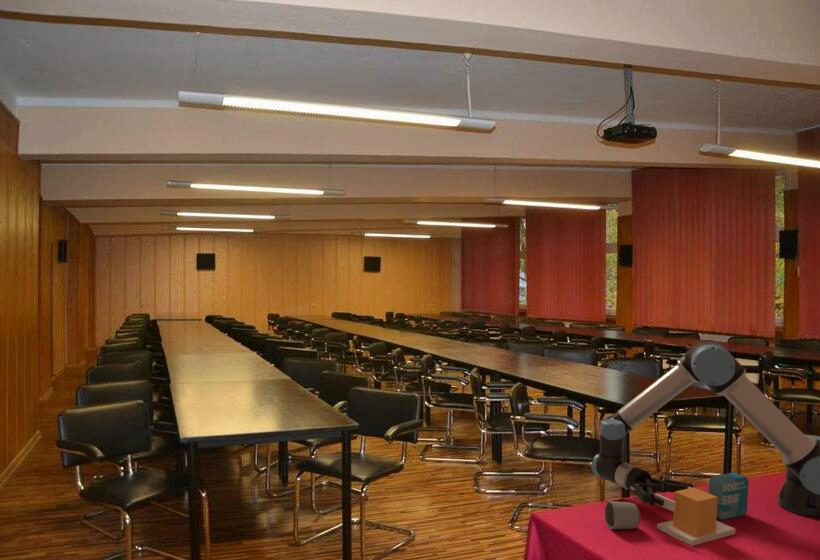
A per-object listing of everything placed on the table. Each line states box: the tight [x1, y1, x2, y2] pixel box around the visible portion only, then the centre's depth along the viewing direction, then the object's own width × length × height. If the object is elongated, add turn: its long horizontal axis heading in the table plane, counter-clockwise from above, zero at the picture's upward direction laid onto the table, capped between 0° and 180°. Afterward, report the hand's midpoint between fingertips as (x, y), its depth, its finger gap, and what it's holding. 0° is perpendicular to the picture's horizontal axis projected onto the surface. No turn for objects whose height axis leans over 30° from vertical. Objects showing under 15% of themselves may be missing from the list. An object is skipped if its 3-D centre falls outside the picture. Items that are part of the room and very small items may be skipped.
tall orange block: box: [672, 486, 718, 537], centre depth 193 cm, size 8×8×10 cm
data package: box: [708, 472, 750, 521], centre depth 208 cm, size 12×4×12 cm, turn 115°
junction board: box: [656, 519, 736, 547], centre depth 195 cm, size 18×12×8 cm, turn 119°
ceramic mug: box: [604, 500, 641, 530], centre depth 198 cm, size 11×8×8 cm
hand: (691, 502), depth 194 cm, fingers open, 13 cm apart
